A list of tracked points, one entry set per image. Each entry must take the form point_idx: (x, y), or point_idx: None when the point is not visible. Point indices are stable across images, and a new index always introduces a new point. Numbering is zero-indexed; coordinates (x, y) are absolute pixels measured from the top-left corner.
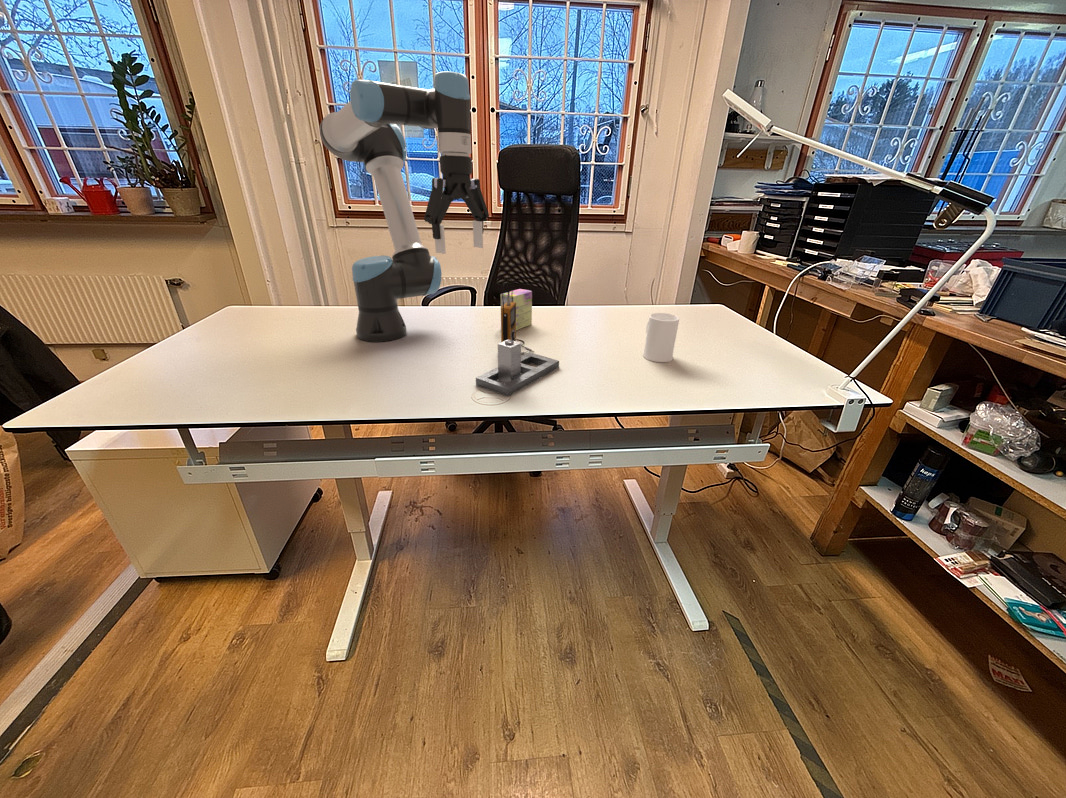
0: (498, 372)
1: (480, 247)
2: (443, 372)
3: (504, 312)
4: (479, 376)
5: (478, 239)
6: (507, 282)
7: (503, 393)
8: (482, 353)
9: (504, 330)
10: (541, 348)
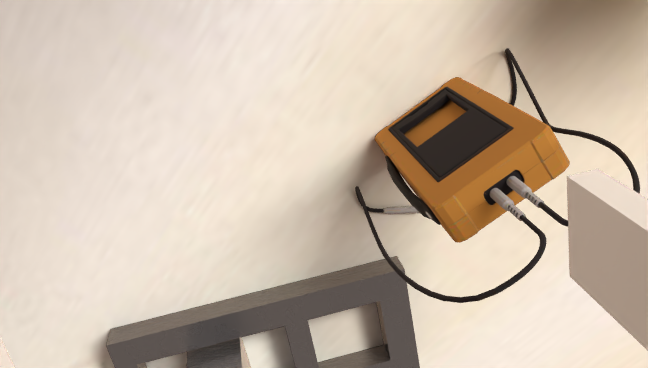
0: (187, 365)
1: (571, 270)
2: (59, 182)
3: (434, 215)
4: (122, 343)
5: (621, 291)
6: None
7: None
8: (296, 109)
9: (372, 232)
10: None
